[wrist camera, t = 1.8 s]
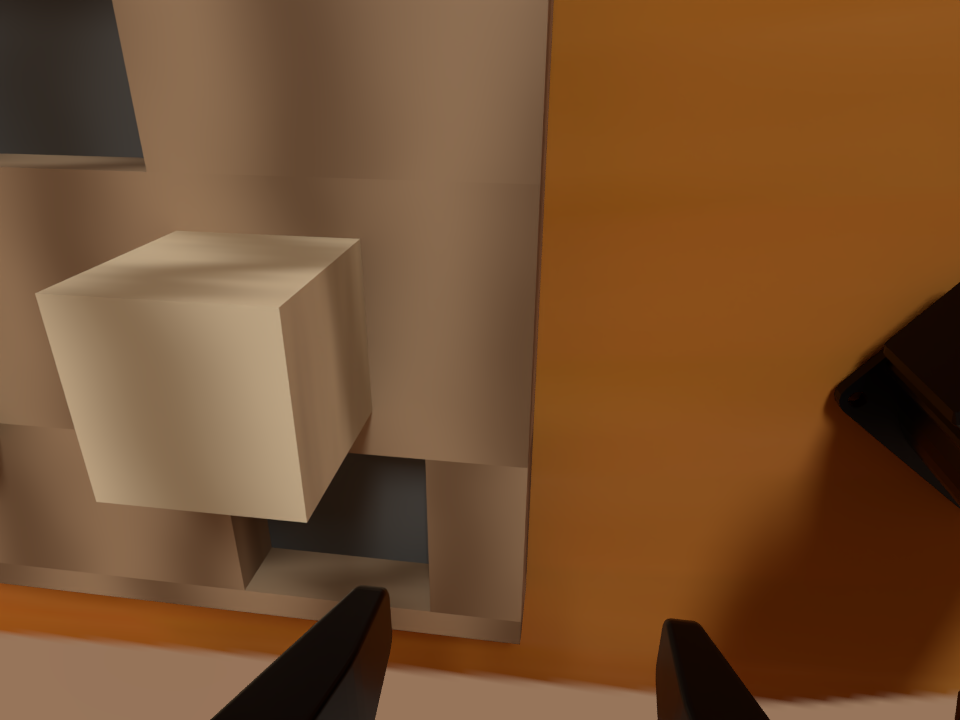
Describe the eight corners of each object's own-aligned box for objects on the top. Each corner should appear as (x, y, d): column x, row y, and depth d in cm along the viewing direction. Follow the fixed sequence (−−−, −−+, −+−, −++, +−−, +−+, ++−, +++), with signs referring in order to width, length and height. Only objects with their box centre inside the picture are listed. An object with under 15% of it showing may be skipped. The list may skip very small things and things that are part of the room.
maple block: (359, 238, 17) (278, 307, 12) (372, 410, 19) (307, 522, 14) (175, 230, 17) (35, 293, 13) (207, 398, 20) (96, 502, 15)
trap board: (560, -153, 15) (556, -189, 13) (525, 589, 24) (520, 644, 22) (-335, -126, 18) (-468, -152, 16) (-58, 526, 27) (-116, 569, 25)
